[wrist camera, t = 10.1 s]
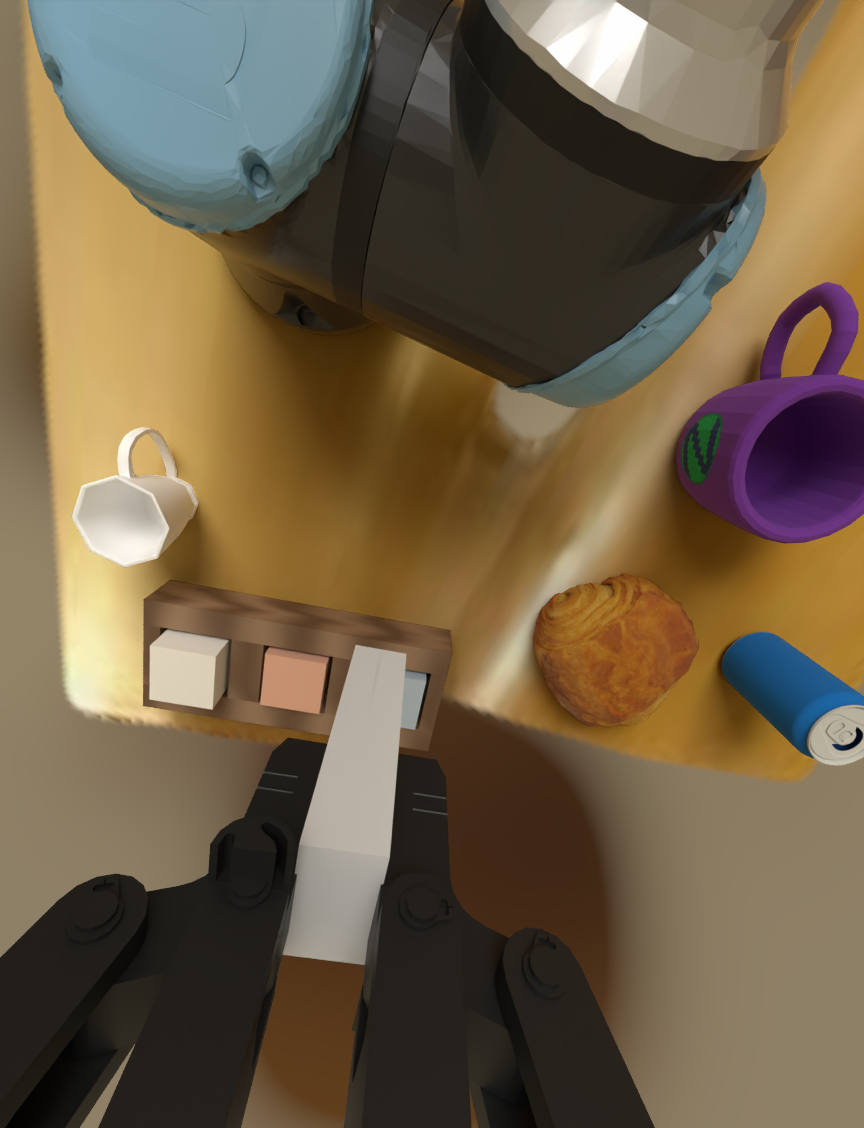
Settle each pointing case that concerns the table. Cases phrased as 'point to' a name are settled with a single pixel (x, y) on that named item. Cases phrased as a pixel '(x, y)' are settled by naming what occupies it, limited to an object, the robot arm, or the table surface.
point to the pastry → (613, 649)
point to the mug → (784, 437)
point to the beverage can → (798, 697)
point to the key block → (296, 629)
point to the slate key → (412, 698)
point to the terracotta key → (295, 679)
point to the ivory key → (189, 668)
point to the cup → (135, 507)
